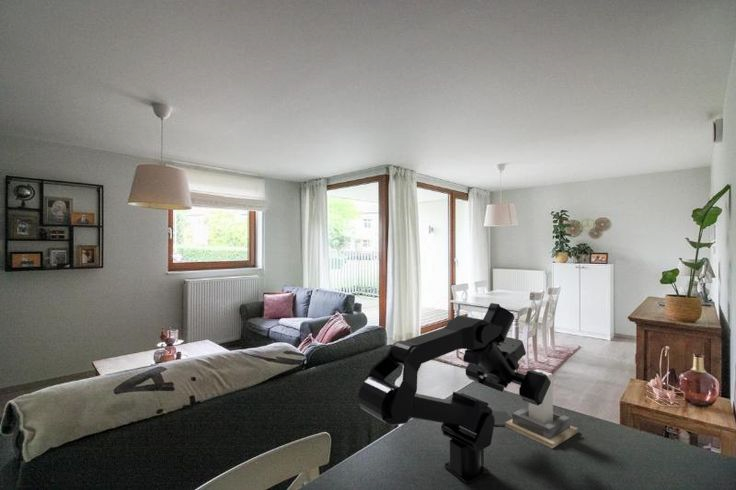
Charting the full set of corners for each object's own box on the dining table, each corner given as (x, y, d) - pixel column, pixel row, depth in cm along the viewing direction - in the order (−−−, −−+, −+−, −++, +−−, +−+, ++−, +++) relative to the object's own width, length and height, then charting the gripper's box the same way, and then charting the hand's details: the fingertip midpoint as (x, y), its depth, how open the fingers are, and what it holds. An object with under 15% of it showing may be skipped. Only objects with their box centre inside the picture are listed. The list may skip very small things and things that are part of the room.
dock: (552, 448, 80) (552, 432, 80) (505, 426, 90) (505, 412, 90) (577, 432, 86) (577, 418, 86) (531, 413, 96) (531, 400, 96)
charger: (544, 431, 85) (543, 376, 85) (528, 424, 89) (528, 371, 89) (553, 426, 88) (552, 373, 88) (537, 419, 91) (537, 368, 91)
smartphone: (452, 411, 97) (507, 410, 97) (452, 414, 97) (507, 414, 97) (458, 424, 90) (517, 424, 89) (458, 428, 90) (517, 427, 89)
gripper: (545, 337, 73) (572, 379, 79) (472, 321, 88) (500, 357, 94) (523, 383, 68) (554, 424, 74) (450, 358, 84) (481, 394, 90)
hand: (519, 396), depth 83 cm, fingers open, 9 cm apart
